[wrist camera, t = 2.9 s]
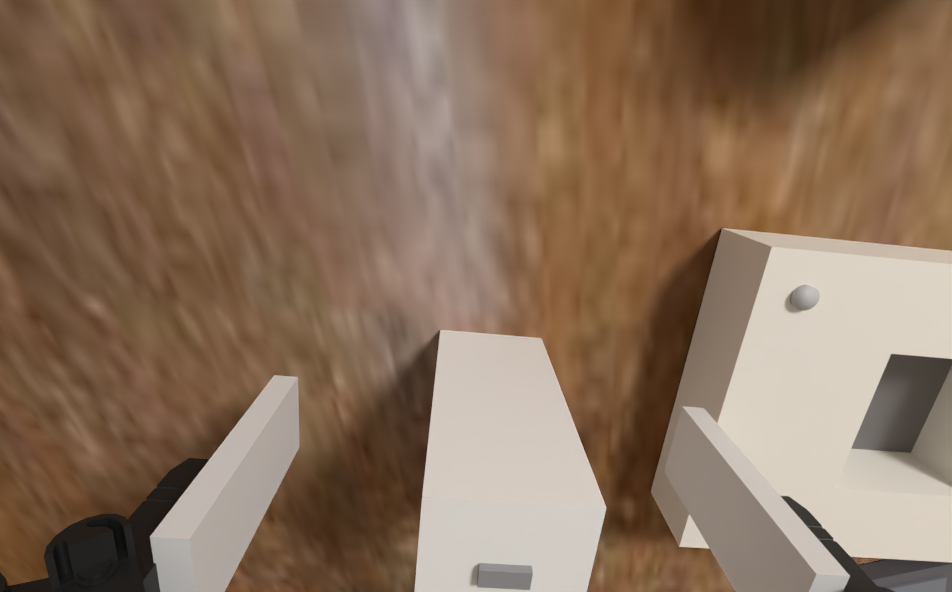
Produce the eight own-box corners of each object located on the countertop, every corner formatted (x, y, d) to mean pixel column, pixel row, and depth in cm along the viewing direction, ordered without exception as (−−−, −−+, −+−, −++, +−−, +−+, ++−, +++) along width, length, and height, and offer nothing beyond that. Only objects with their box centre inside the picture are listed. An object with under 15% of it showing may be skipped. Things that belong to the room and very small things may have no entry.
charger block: (432, 417, 20) (410, 639, 11) (440, 329, 19) (421, 504, 10) (527, 424, 20) (577, 647, 11) (541, 338, 19) (609, 515, 10)
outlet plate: (650, 491, 21) (681, 550, 18) (722, 228, 18) (775, 248, 15) (982, 513, 22) (1063, 572, 19) (1119, 267, 19) (1247, 294, 15)
